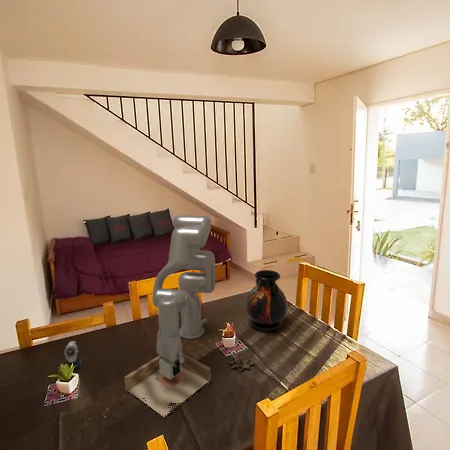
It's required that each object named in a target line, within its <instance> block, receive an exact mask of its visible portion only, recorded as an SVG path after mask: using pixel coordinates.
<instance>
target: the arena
mask: <svg viewBox="0 0 450 450" xmlns="http://www.w3.org/2000/svg"><path fill="white" fill-rule="evenodd" d="M182 355H183V357H184V359H185V361H184V362H183V363H181V372H180V373H179V374H177V375H176V376H175V377H173V378H172V379H168V378H167V377H165V376H163V375H162V374H160V369H159V359H160V355H159V354H158V355H157V356H156V357H155V358H153V359H151V360H150V361H148V362H146V363H145V364H143V365H140V367H138V368H137V369H135V370H134V371H132V372H130V373H129V374H127V375H125V376H124V389H126V390H127V391H128V392H130V393H131V394H133V395H134V396H136V397H137V398H139V399H140V400H141V401H143V402H144V403H145V404H147V405H148V406H149V407H151V408H152V409H153V410H154V411H156V412H157V413H159V414H160V415H161V416H163V417H165V415H166V416H167V414H168V413H170V412H169V411H171V410H172V407H173V408H174V406H168V405H169V403H171V402H172V403H176V405H177V406H178V404H179V403H182V402H184V401H185V400H186V399H188V398H189V397H190V396H191V395H193V394H194V393H195V392H196V391H197V390H199V389H200V388H202V387H203V386H204V385H205V384H206V383H208V382H209V381H210V380H211V381H212V379H211V378H212V377H211V376H212V372H211V371H212V368H211V367H209V366H207V365H205V364H203V363H202V362H200V361H198V360H196V359H195V358H192V357H191V356H188V355H186V354H185V353H183V352H182ZM208 384H209V383H208ZM202 389H203V388H202ZM127 391H126V392H127ZM128 392H127V393H128ZM131 394H130V395H131ZM142 398H145V399H142ZM145 400H146V401H145ZM177 403H178V404H177ZM167 404H168V405H167ZM176 405H175V406H176ZM179 405H180V404H179ZM168 407H169V408H168ZM170 407H171V408H170ZM175 408H176V407H175ZM170 409H171V410H170ZM173 410H174V409H173Z"/></svg>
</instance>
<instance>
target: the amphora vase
mask: <svg viewBox="0 0 450 450" xmlns="http://www.w3.org/2000/svg"><path fill="white" fill-rule="evenodd" d="M254 277H255V279H256V281H255V286H254V287H252V289H251V290H250V291H249V292H248V294H247V297H246V301H245V312H246V314H247V316H248V317H249V318H250V321H249V322H250V325H251V327H253V328H254V329H256V330H258V331H261V330H262V332H273V331H272V330H275V331H277V330H279V329H280V328H281V327H282V324H283V320H284V319H285V317H286V315H287V313H288V307H289V306H288V299H287V297H286V295H285V293H284V291H283V290H282V289H281V288H280V287H279V285H278V284H277V281H278V280H280V278H281V274H280V273H279V272H278V271H274V270H271V269H270V270H269V269H263V270H262V269H261V270H258V271H256V272H255V274H254ZM280 326H281V327H280ZM279 327H280V328H279ZM278 328H279V329H278ZM276 329H277V330H276Z"/></svg>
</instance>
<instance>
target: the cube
mask: <svg viewBox="0 0 450 450" xmlns="http://www.w3.org/2000/svg"><path fill="white" fill-rule="evenodd" d="M175 361H176V363H177V362H178V361H177V359H176V360H175ZM173 366H174V365H173V362H172V361H169V360H168V359H166V358H164V357H163V358H161V359H159V369H160V374H162V375H163V376H165V377H167V378H168V379H172V378H173V377H175V376H176V375H175V376H173ZM180 372H181V364H180ZM178 374H179V373H178Z"/></svg>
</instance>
